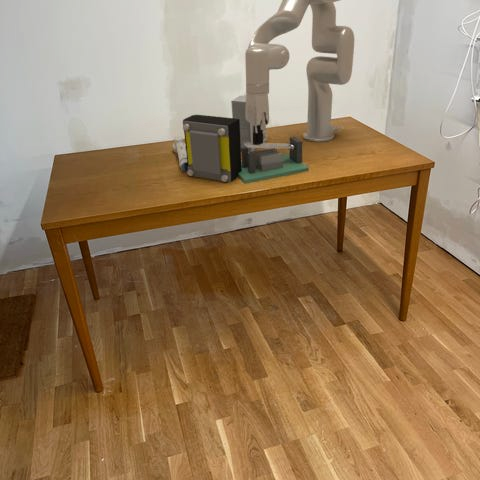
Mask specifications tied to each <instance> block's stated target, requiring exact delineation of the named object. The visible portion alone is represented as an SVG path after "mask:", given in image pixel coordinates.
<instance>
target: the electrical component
mask: <svg viewBox="0 0 480 480" xmlns="http://www.w3.org/2000/svg"><path fill="white" fill-rule="evenodd" d="M182 130H183V134H184V143H185V144H186V153H187V163H188V166H187V167H188V171H186V172H187V173H186V174H187V175H188V176H191V177H198V178H203V179H208V180H209V179H210V180H212V181H213V180H214V181H220V182H224V183H233V181H235V180H237V179H238V178H239V177H238V173H240V172H241V171H242V165H241V162H242V154H241V142H240V120H239V119H236V118H232V117H223V116H214V115H205V114H204V115H203V114H191V115H189V116H187V117H185V118H183V119H182Z"/></svg>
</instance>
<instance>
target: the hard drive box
mask: <svg viewBox="0 0 480 480" xmlns="http://www.w3.org/2000/svg"><path fill="white" fill-rule="evenodd" d="M230 102H231V103H230V104H231V118H236V119H239V120H240V142H241V148H243V147H246V146H245V145H244V142H253V131H252V124H251V123H249V122H248V121H247V120H246V119H245V108H246V91H245V92H243V94H241V95H239V96H237V97H236V98H234V99H232V100H231V101H230ZM266 141H267V129H266V130H264V132H263V143H266ZM255 150H257V148H248V153H252V152H254V151H255Z"/></svg>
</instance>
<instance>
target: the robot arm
mask: <svg viewBox="0 0 480 480" xmlns="http://www.w3.org/2000/svg"><path fill="white" fill-rule="evenodd" d="M340 1H341V0H282V1H281V2H280V5H279V7H278V10H277V12H275V14H273V15H272V16H271V17H268V19H267V20H266V21H264V22H263V23H262V24H261V25H259V27H257V29H256V30H255V31H254V33H253V36H252V37H251V40H250V41H249V44H248V47H247V49H246V51H245V92H246V108H245V119H246V120H247V121H248V122H249V123H251V124H252V131H253V143H254V144H255V145H257V144H263V132H264V130H266V131H267V125H268V124H269V122H270V104H269V94H270V70H281V69H284V68H285V67H286V66H287V65H288V63H289V60H290V52H289V50H288V48H287V47H286V46H285V45H283V44H279V43H277V44H276V43H270V42H271V41H272V40H274V39H275V38H277V37H279V36H282V35H284V34H287V33H289V32H291V31H294V30H296V29H297V28H298V27H299V26H300V25H301V22H302V20H303V18H304V16H305V14H306V12H307V10H308V8H309V5H310V9H311V12H312V25H311V26H312V27H311V47H312V49H313V51H314V52H316V53H321V54H331V55H332V54H333V55H336V56H337V57H334V56H333V57H332V56H323V55H321V56H318V55H317V56H314V57H311V58H310V59H309V60H308V61H307V63H306V78H307V88H308V91H307V92H308V95H307V121H306V122H307V127H306V128H307V129H306V131H305V132H303V135H302V136H303V138H304V139H305V140H306V141H311V142H319V143H320V142H328V141H331V140H333V139H335V138H334V137H335V134H334V132H335V131H341V130H342V126H341V125H335V124H332V108H333V91H332V88H331V85H337V86H338V85H339V86H340V85H341V86H342V85H346V84H348V83H349V82H350V80H351V78H352V74H353V73H352V72H353V66H354V65H353V64H354V53H355V51H354V49H355V34H354V30H353V29H352V28H351V27H349V26H346V25H337V21H336V19H337V9H336V6H335V2H340Z"/></svg>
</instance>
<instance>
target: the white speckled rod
mask: <svg viewBox="0 0 480 480" xmlns="http://www.w3.org/2000/svg"><path fill="white" fill-rule="evenodd" d="M172 149H173V152H174V153H175V154H177V156H178V157H177V158H178V165H179V167H180V170H181V171H182V172H188V167H187V166H188V163H187V153H186V144H185V139H184V137H183V136H180V135H177V136H175V137H174V139H173V144H172Z"/></svg>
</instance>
